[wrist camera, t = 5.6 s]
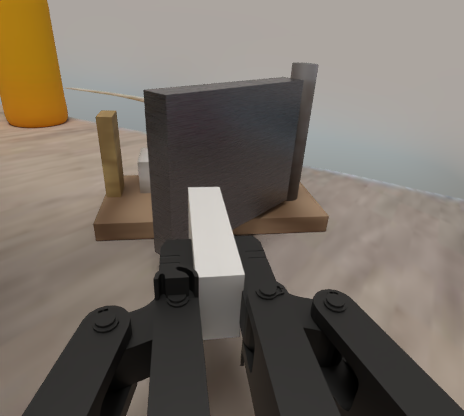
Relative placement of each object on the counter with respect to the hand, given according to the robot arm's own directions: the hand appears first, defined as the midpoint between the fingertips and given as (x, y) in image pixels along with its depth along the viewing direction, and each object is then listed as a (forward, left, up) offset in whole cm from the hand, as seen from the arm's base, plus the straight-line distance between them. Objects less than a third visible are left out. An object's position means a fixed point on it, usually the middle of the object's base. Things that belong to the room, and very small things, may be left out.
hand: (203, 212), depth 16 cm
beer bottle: (-50, +16, -7) cm, 53 cm away
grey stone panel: (-3, +7, -5) cm, 9 cm away
